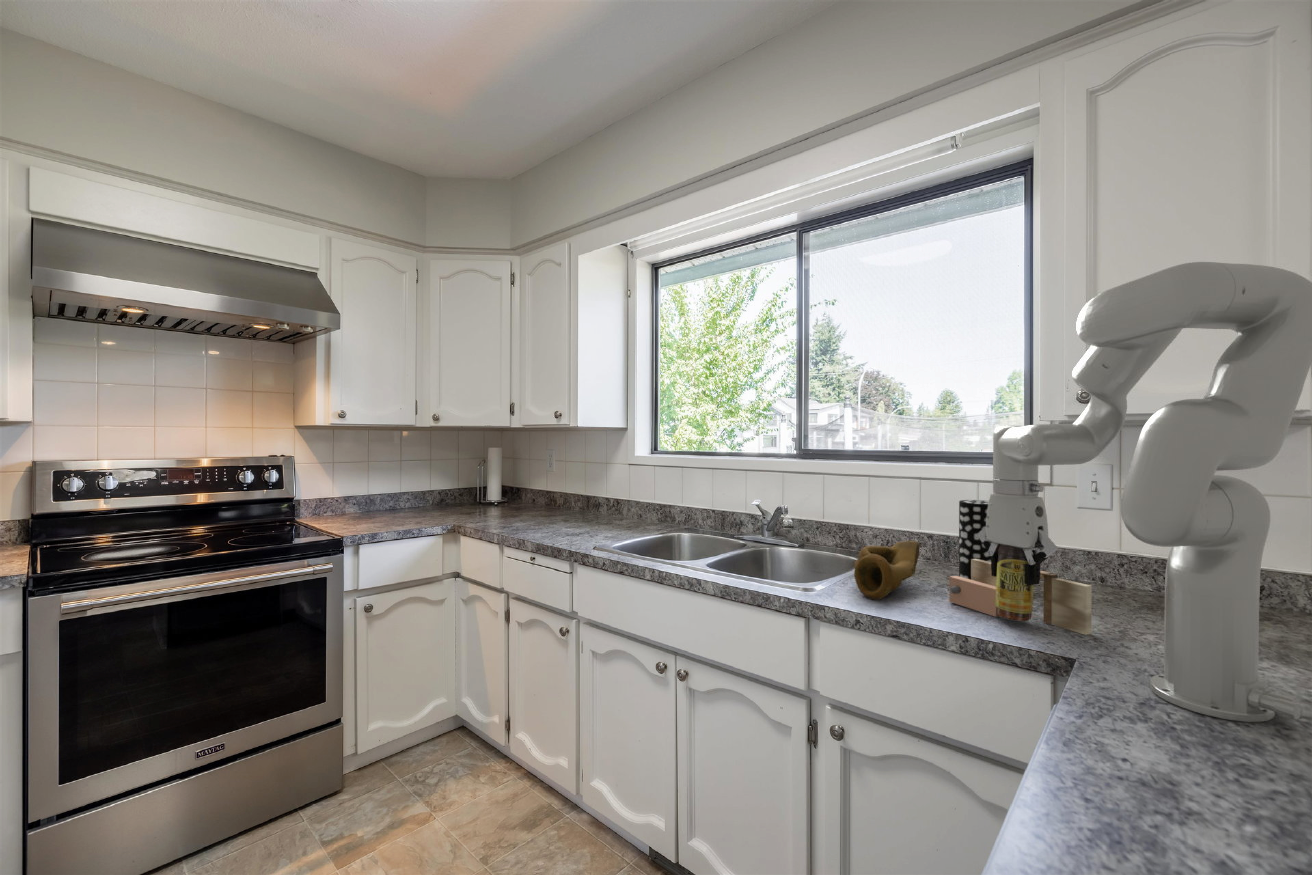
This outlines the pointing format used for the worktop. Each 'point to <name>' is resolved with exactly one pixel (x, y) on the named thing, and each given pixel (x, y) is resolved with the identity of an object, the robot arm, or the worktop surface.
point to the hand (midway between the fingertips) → (1014, 578)
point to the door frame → (1052, 598)
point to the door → (973, 594)
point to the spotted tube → (971, 534)
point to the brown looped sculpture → (885, 567)
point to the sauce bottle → (1013, 585)
